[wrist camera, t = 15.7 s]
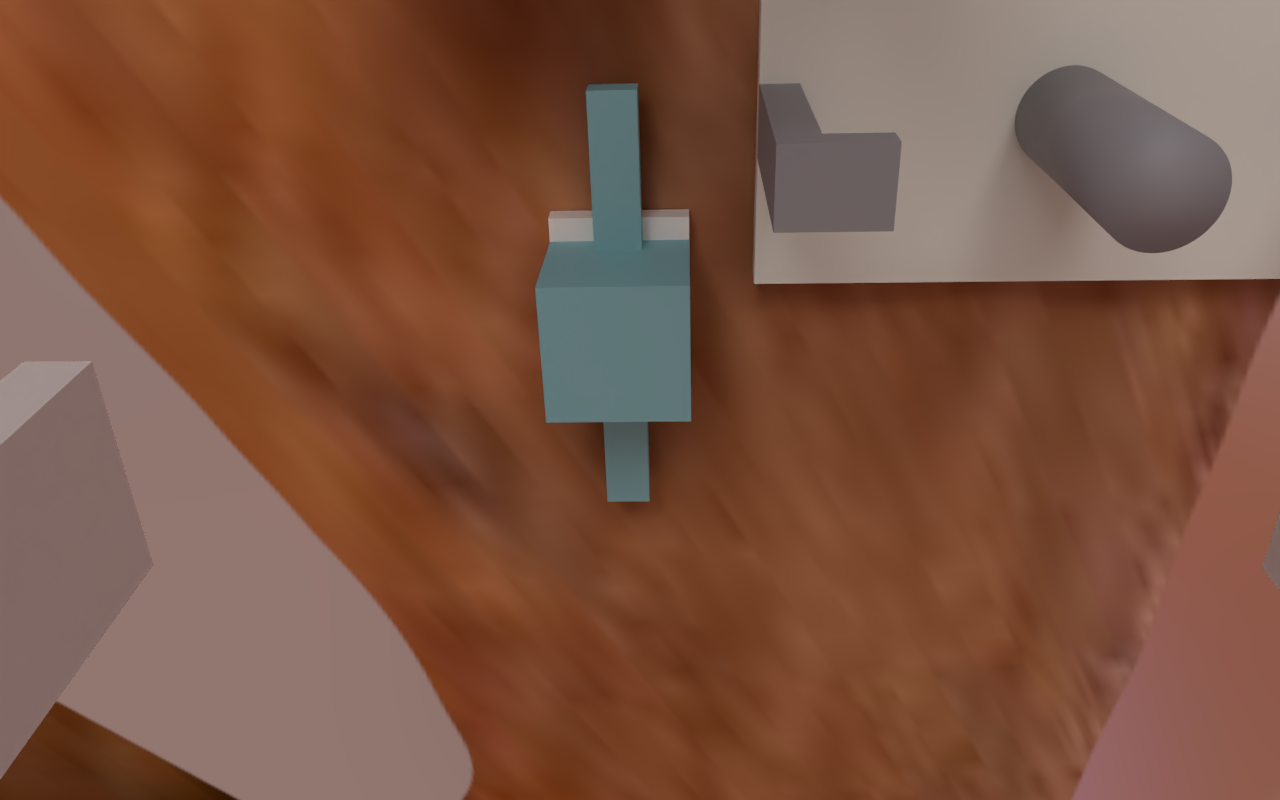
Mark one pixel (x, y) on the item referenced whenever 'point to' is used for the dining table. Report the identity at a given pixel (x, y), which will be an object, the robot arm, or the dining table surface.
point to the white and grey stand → (1017, 140)
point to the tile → (653, 225)
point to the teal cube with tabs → (616, 307)
